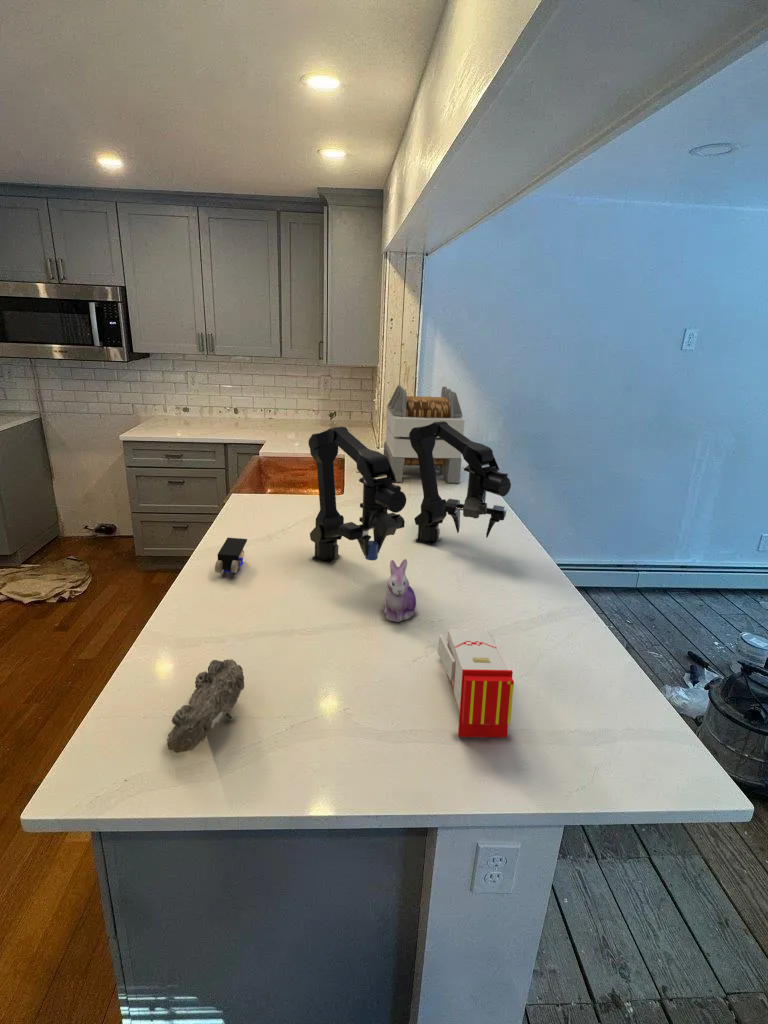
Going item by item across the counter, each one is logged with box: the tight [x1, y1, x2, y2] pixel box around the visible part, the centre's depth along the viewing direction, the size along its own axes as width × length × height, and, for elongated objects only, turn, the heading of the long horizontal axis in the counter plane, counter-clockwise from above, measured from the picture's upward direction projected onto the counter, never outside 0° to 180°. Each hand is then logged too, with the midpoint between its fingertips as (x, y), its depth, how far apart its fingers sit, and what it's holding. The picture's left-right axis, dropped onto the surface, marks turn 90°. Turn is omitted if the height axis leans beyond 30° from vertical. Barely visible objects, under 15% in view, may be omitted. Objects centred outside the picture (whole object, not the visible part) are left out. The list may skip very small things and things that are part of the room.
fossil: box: [166, 658, 245, 754], centre depth 106 cm, size 22×10×15 cm
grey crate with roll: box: [383, 384, 465, 484], centre depth 268 cm, size 34×33×41 cm
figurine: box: [384, 558, 417, 623], centre depth 145 cm, size 9×10×15 cm
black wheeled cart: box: [214, 537, 248, 578], centre depth 166 cm, size 7×8×15 cm
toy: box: [437, 628, 515, 738], centre depth 117 cm, size 12×13×30 cm
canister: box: [364, 540, 379, 561], centre depth 157 cm, size 4×4×4 cm
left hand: (371, 554), depth 158 cm, fingers closed on canister, 3 cm apart
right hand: (472, 534), depth 179 cm, fingers open, 9 cm apart
